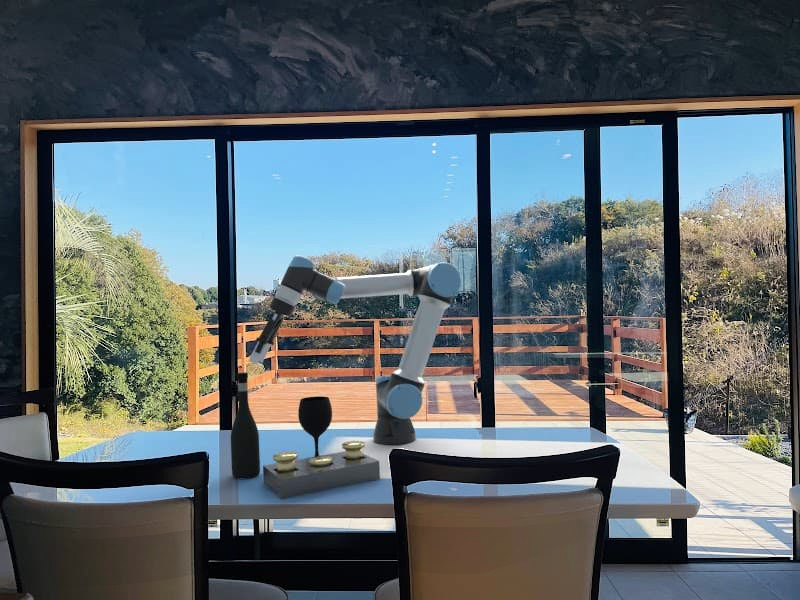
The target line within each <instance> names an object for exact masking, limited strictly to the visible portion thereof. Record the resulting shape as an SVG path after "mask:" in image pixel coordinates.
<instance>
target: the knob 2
mask: <svg viewBox="0 0 800 600" xmlns="http://www.w3.org/2000/svg"><path fill="white" fill-rule="evenodd" d="M365 444H366V443H365V441H362V440H349V441H345V442H342V443H341V447H342V449H344V452H345V457H346V460H348V461H353V460H358V459H362V453H363V448H365V447H366V445H365Z"/></svg>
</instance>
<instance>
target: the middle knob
mask: <svg viewBox="0 0 800 600" xmlns="http://www.w3.org/2000/svg"><path fill="white" fill-rule="evenodd" d="M320 456H321V457H315V456H313V457H314V458H311V459H310V460H309V464H310V465H311V466H314V467H320V466H326V465H330V464H332V463H333V458H332V457H327V456H322V455H320Z"/></svg>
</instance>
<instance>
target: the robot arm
mask: <svg viewBox="0 0 800 600" xmlns="http://www.w3.org/2000/svg"><path fill="white" fill-rule="evenodd" d="M315 267H316V263H315V262H314V261H313V260H311V259H309V258H308V257H304V256H302V255H300V254H299V255H298V254H296V255H294V256H293V258H292V260H291V261H290V263H289V265H288V267H287V269H286V271H285V273H284V276H282V280H281V281H280V284H279V286H276V287H275V289H276V292H275V294H274V296H275V297H273V298H272V300H271V302H270V304H269V308H270V309H271V310H273V311H274V312H272V313H271V315H270V316H269V318H268V320H267V322H266V324H265V326H264V328H263V330H262V331H261V334H260V335H259V336H258V337H256V339H255V341H256V342H257V343H256V345H255V347H254V349H253V351H252V353H251V355H250V357H249V359H248V362H250V363H252V364H255V365H258V363H261V364H262V363H264V360H265V358H266V356H267V354H268V352H269V350H270V348H271V346H274V345H275V342H274V341H275V339H276V336H277V333H278V331H279V329H280V328H281V326H282V324H283V322H284V316H286V317H289V318H290V317H291V316H292V315H293V313H294V311H295V306H296V305H298V303H299V301H300V298H301V297H302V294H303V291H306V292H308V293H309V294H311V295H312V297H313V298H314V299H316V300H317V301H326V302H327V303H331V304H333V305H337V304H338V303H339V302H340V300H341V299H354V298H368V297H380V296H381V297H382V296H383V297H385V296H396V295H397V296H398V295H407V296H408V297H418V299H419V301H420V303H419V306H418V308H417V311H416V314H415V317H414V319H413V323H412V326H411V329H410V332H409V335H408V338H407V340H406V341H407V342H406V344H405V346H404V351H403V353H402V356H401V358H400V362H399V366H398V368H396V369H394V370H393V371H392V373H391V374H390V375H382V376H377V377H376V379H375V380H376V381H375V387H376V411H377V412H376V413H377V414H376V415H377V420H376V423H375V427H374V430H373V433H372V434H373V435H372V439H373V442H374V443H376V444H380V445H402V444H407V443H411V442H414V441H415V440H416V439H417V437H416V431H415V427H414V424H413V422H412V419H411V418H413V417H414V416H416V415H417V414H418V413H419V412H420V410H421V408H422V406H423V396H422V393H423V390H424V387H425V384H426V383H425V380H424V378H423V375H424V373H425V371H426V367H427V363H428V361H429V357H430V354H431V351H432V349H433V346H434V343H435V339H436V336H437V334H438V330H439V326H440V324H441V322H442V319H443V316H444V312H445V310H446V309H448V308H450V307H451V305H452V303H453V300H454V296H455V295H457V294H458V292H459V291H460V289H461V288H462V287H461V286H462V283H463V278H462V274H461V272H460V271H459V269H458V268H457V267H456V265H454V264H452V263H449V262H444V261H443V262H442V261H439V262H436V263H434V264H431V265H428V266H424V267H421V268H417V269H408V270H407V271H406V272H402V273H400V272H399V273H387V274H373V275H372V274H369V275H357V276H353V275H352V276H342V277H341V276H339V277H331V276H329V275H327V274H324V273H322V272H320V271H318V270H316V269H315Z"/></svg>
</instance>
